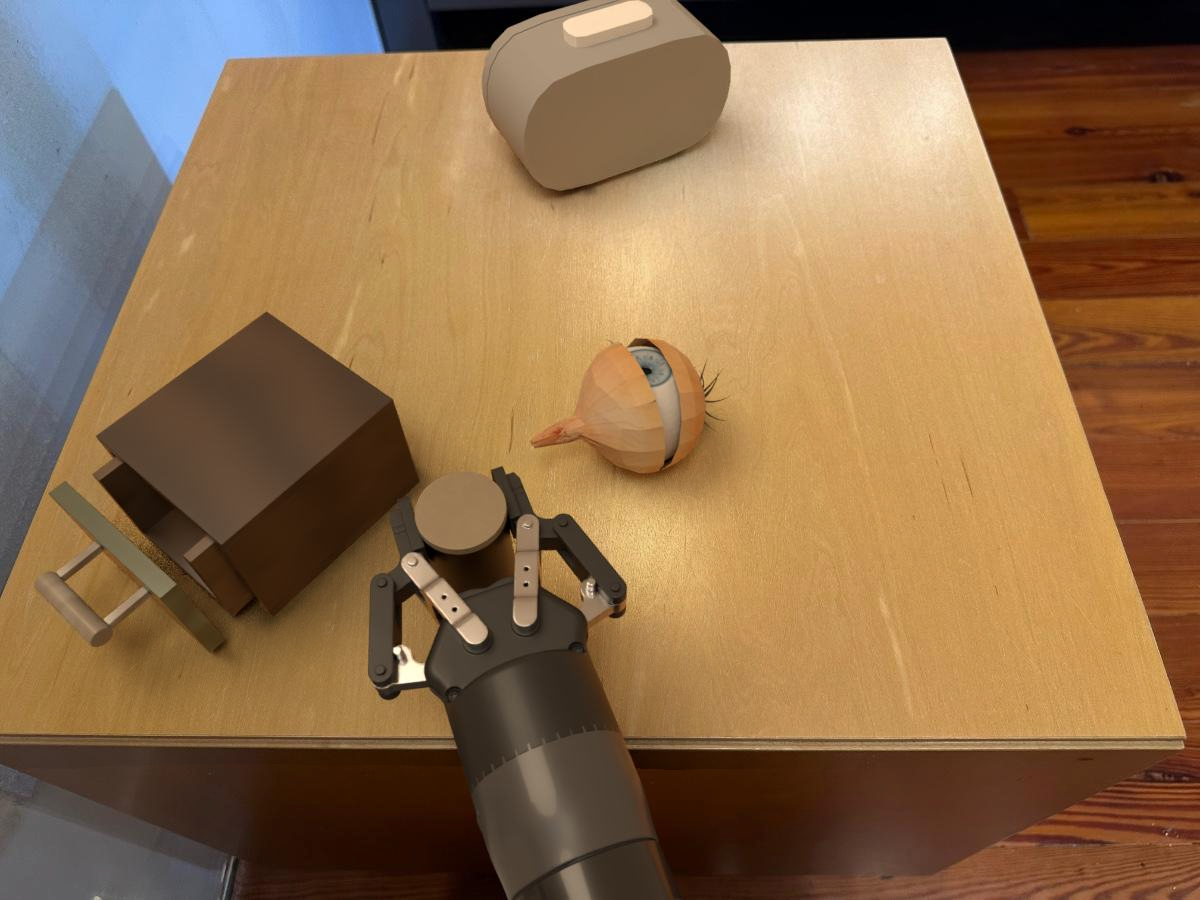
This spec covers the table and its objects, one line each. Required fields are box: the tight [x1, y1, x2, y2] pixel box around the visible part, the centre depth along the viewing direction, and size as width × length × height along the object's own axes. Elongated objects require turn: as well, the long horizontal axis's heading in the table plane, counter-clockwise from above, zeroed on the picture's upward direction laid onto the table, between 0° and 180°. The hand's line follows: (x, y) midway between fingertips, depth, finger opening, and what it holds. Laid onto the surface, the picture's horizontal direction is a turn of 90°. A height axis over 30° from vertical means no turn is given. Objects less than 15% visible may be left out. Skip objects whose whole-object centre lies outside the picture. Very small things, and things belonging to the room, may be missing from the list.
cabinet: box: [95, 311, 420, 617], centre depth 62 cm, size 14×13×10 cm
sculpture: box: [529, 337, 732, 475], centre depth 64 cm, size 9×9×15 cm
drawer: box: [33, 457, 255, 654], centre depth 59 cm, size 17×11×8 cm
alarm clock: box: [481, 0, 732, 192], centre depth 83 cm, size 21×10×13 cm, turn 117°
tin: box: [414, 471, 515, 594], centre depth 52 cm, size 5×5×8 cm
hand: (451, 491), depth 52 cm, fingers closed on tin, 4 cm apart
